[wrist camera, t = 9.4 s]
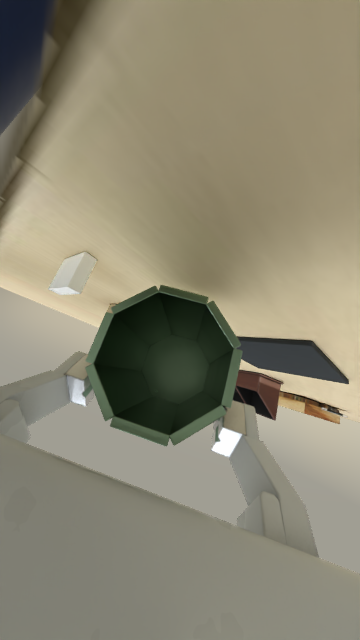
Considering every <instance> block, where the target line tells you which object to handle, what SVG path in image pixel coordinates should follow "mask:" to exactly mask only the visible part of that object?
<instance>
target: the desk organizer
mask: <svg viewBox="0 0 360 640" xmlns="http://www.w3.org/2000/svg"><path fill="white" fill-rule="evenodd" d="M281 384H283V383H282V382H280V381H277V380H275V379H272V378H270V377H267V376H265V375H263V374H260V373H254V372H247V371H241V370H239V371H238V376H237V381H236V386H235V391H234V395H233V400H234V401H237V402H241V403H244V404H247V405H250V406H253V407H254V408H255V412H256V413H257V414H259V415H262V416H264V417H267V418H270V419H272V420H276V413H277V407H278V400H279V393H280V387H281Z"/></svg>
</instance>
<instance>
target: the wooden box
mask: <svg viewBox="0 0 360 640" xmlns="http://www.w3.org/2000/svg"><path fill="white" fill-rule="evenodd" d="M278 405H279V406H282V407H285V408H288V409H291V410H295V411H298V412H301V413H305V414H308V415H311V416H314V417H318V418H321V419H324V420H327V421H330V422H334V423H337V424H340V416H342V417H346V418H348V416H346V415H343V414H341V413H339V410H337V409H335V408H332V407H330V406H328V405H325V404H324V405H321V404H319V403H317V402H315V401H312V400H309V399H306V398H302V397H299V396H296V395H292V394H288V393H284V392H280V393H279V400H278Z"/></svg>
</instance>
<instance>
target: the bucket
mask: <svg viewBox="0 0 360 640" xmlns="http://www.w3.org/2000/svg"><path fill="white" fill-rule="evenodd" d="M207 302H208V297H206V296H202V295H198V294H194V293H190V292H187V291H183V290H179V289H175V288H171V287H167V286H164V285H161V286H160V288H159V291H158V289H157V287H156V286H153V287H151V288H149V289H147V290H145V291H143V292H141V293H139V294H137V295H135V296H133V297H131V298H129V299H127V300H125V301H123V302H121V303H119V304H117V305H115V306H113V307H111V310H112V312H113V314H112V313H109V312H106V314H105V316H104V318H103V321H102V323H101V325H100V328H99V330H98V333H97V335H96V337H95V339H94V342H93V344H92V346H91V349H90V351H89V353H88V356H87V358H86V360H85V361H86V362H88V363H91V365H89V366H87V367H85V369H86V372H87V374H88V377H89V380H90V382H91V385H92V388H93V390H94V393H95V396H96V398H97V401H98V404H99V406H100V409H101V412H102V414H103V417H104V419H105V421H107V420H109V419H111V418H113V419H112V421H111V425H110V426H111V427H113V428H116V429H119V430H122V431H124V432H127V433H130V434H133V435H136V436H138V437H141V438H144V439H147V440H149V441H152V442H155V443H158V444H161V445H164V446H167V445H168V441H169V438H170V439H171V441H172V443H173V445H176V444H178V443H180V442H181V441H183V440H185V439H186V438H188V437H189V436H191V435H193V434H194V433H196V432H198V431H199V430H201V429H203V428H204V427H206V426H208V425H209V424H211V423H213V422H214V421H216V420H218V419H219V418H221V417H223V416H224V415H226V411H225V409H224V408H223V406H225V407H228V408H231V405H232V400H233V395H234V391H235V386H236V381H237V376H238V371H239V367H240V362H241V357H242V350H238V349H236V348H237V347H239V346H241V343H240V342H239V340H238V338H237V337H236V335H235V334H234V332H233V331H232V329H231V328H230V326H229V324H228V323H227V321H226V320H225V318H224V317H223V315H222V314H221V312H220V310H219V309H218V307H217V306H216V304H215V303H214V301H211V302H209V303H207Z"/></svg>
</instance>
